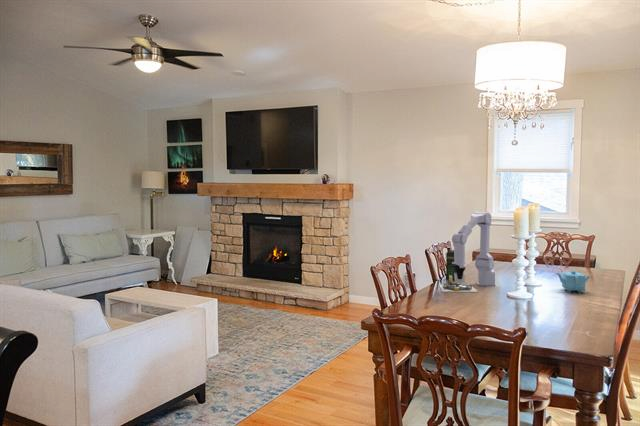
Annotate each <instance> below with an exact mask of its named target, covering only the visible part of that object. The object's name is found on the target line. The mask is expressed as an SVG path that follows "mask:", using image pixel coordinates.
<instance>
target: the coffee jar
mask: <svg viewBox="0 0 640 426" xmlns="http://www.w3.org/2000/svg"><path fill="white" fill-rule="evenodd" d="M445 259H446V261H445V265H446V266H445V267H446V269H445V279H446V280H447V281H449V276H452V281H455V279H454V273H456V271H455V268H454V265H456V264H452V262H454V249H452V250H449V251H447V252H445Z"/></svg>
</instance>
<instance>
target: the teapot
mask: <svg viewBox="0 0 640 426" xmlns="http://www.w3.org/2000/svg"><path fill="white" fill-rule="evenodd" d="M555 274H556V275H557V276H558V278H559V281H560V283H561V286H562V288H564V291H566V292H567V293H572V292H574V291H575V292H577V293H578V294H579V293H580V294H581V293H583V292H585V291H586V283H587V281H588V280H589V279H590V277H591V276H589V275H584V273H581V272H580V271H579V272H577V271H576V270H571V271H570V272H569V271H565V272H564V271H562V273H559V272H555Z"/></svg>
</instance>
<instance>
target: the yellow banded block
mask: <svg viewBox="0 0 640 426" xmlns="http://www.w3.org/2000/svg"><path fill="white" fill-rule="evenodd" d="M454 279H455V280H454V283H456V282H460V283H465V272H464V273H463V277H462V279H458V277H457V273H454Z"/></svg>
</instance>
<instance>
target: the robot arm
mask: <svg viewBox="0 0 640 426" xmlns="http://www.w3.org/2000/svg"><path fill="white" fill-rule="evenodd" d="M477 225H478V227H479V228H480V236H479V237H480V239H479V241H480V244H479V254H477V255H476V256H475V261H474V266H475V268H476V269H477V273H478V275H477V280H478V281H477V282H476V284H477V285H478V286H483V287H484V286H486V287H487V286H488V287H489V286H492V287H493V286H494V287H495V286H496V270H494V268H495V261H494V257H493V256H492V255H491V254H490V231H491V230H490V229H491V228H490V227H491V226H492V215H491V213H490V212H489V211H487V212H485V211H484V212H483V211H473V212H472V214H471V216H470V219H469V222H468V223H467V224H465V225H463V226H462V227H461V228H460V229H459V230H458V232H457V233H454V234H452V238H451V242H452V246H453V250H454V262H452V264H456V265H454V268H455V271H456V273H457V277H458V279H462V277H463V273H464V274H465V270H466V267H465V266H464V265H465V264H466V262H465V261H466V259H465V258H466V257H465V256H466V253H465V252H466V251H465V250H466V249H465V248H466V247H465V246H466V245H465V244H466V243H467V241H468V239H469V236H470V235H471V233H472V232H473V230H472V229H473V228H474V227H475V226H477Z"/></svg>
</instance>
